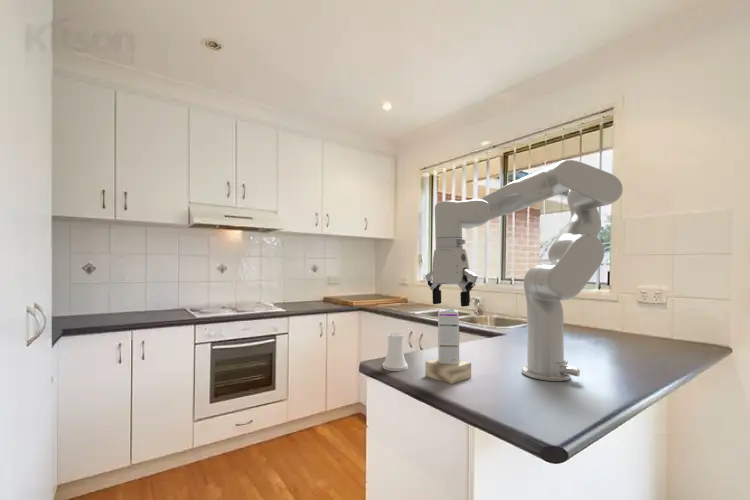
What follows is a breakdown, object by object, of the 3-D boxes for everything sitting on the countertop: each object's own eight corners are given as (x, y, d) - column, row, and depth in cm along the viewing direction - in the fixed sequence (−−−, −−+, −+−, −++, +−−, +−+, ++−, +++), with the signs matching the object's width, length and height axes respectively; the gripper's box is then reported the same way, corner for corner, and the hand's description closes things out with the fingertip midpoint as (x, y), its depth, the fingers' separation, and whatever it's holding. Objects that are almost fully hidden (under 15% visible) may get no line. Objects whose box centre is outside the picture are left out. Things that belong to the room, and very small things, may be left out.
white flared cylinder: (392, 363, 115) (392, 331, 116) (412, 367, 111) (412, 334, 111) (377, 367, 110) (378, 334, 110) (397, 372, 105) (398, 337, 105)
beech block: (471, 377, 101) (471, 362, 101) (451, 383, 95) (451, 368, 95) (445, 370, 108) (445, 356, 108) (425, 375, 102) (425, 361, 102)
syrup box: (459, 365, 98) (459, 311, 99) (437, 364, 100) (437, 311, 100) (459, 360, 104) (459, 309, 105) (438, 358, 105) (438, 308, 106)
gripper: (483, 243, 99) (485, 305, 98) (433, 246, 112) (435, 302, 111) (467, 242, 94) (469, 308, 94) (417, 246, 107) (418, 304, 106)
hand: (450, 304), depth 102 cm, fingers open, 9 cm apart
